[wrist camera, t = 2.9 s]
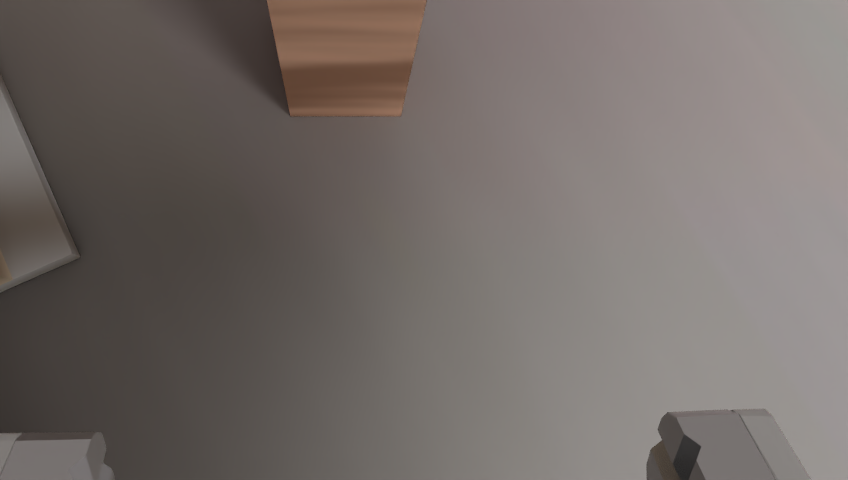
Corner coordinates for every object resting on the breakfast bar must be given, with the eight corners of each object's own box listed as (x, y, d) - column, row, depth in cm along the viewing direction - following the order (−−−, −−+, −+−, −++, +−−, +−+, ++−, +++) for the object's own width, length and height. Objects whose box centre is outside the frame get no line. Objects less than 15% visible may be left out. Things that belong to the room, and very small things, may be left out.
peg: (400, 116, 28) (431, -20, 19) (290, 116, 28) (262, -23, 18) (397, 14, 29) (425, -170, 19) (289, 12, 29) (261, -175, 19)
